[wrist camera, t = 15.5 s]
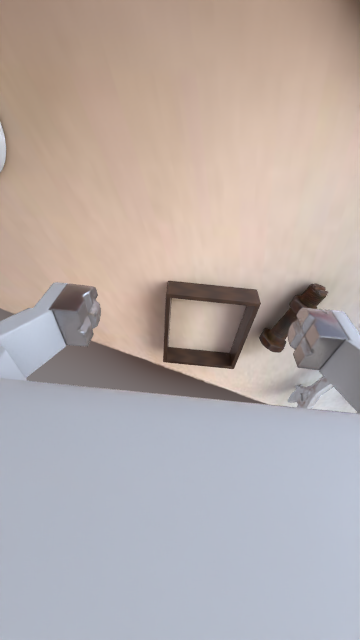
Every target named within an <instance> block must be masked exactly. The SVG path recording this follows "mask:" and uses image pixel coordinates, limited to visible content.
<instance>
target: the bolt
mask: <svg viewBox="0 0 360 640" xmlns="http://www.w3.org/2000/svg"><path fill="white" fill-rule="evenodd" d="M327 293H328V291H325V287H323V286H321V285H319V284H311V285H310V287H308V288H307V290H306V291H305V292H304V293H303V294H302V295H301V296H300V295H296V296H295V297H294V298H293V299H292V301H291V302H290V309H289V310H288V311H287V312H286V313H285V315H284V316H283V317H282V318H281V319H280V320H279V321H278V322H277V324H276V325H275V326H274V327H272V328H271V329H268V328H265V329H264V330H263V332H262V333H261V335H260V337H259V339H260V341H261V343H262V344H263V346H265V347H266V348H267V349H269V350H270V351H272V352H281V351H282V350H283V349H284V347H285V344H286V341H285V339H286V337H287V336H288V331H289V328H290V326H291V324H292V323H293V322H295V321H296V320H298V318H297V313H298V312H299V310H300V309H301V308H311V309H317V305H318V304H319V303H320V302H321V301H322V300H323V299H324V298H325V297H326V295H327Z"/></svg>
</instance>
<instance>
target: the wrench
mask: <svg viewBox="0 0 360 640" xmlns="http://www.w3.org/2000/svg"><path fill="white" fill-rule="evenodd" d="M333 387H334V386H333V385H332V384H331V383H330V382H329V381H328V380H327V379H326V378H325V377H324V376H323V377H322V378H321V379H319V380H318V381H317V382H315V383H314V384H313V385H311V386H308V387H303V385H300V386H299V387H298V386H296V391H294V392H293V393H292V394H291V396H290V397H289V399H288V402H289V403H295V402H297V403H298V406H297V408H307V409H312V408H313V406H314V404H315V403H316V402H317V400H318V399H319V398H320V396H321V395H323V394H324V393H325V392H327V391H328V390H330V389H331V388H333Z"/></svg>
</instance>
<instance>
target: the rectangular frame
mask: <svg viewBox="0 0 360 640" xmlns="http://www.w3.org/2000/svg"><path fill="white" fill-rule="evenodd" d="M172 298H178V299H188V300H197V301H207V302H217V303H227V304H237V305H247V307H246V309H245V312H244V315H243V318H242V321H241V323H240V326H239V329H238V332H237V334H236V337H235V340H234V343H233V346H232V348H231V351H230V353H221V352H211V351H201V350H191V349H181V348H171V347H168V346H169V331H170V315H171V300H172ZM260 304H261V303H260V299H259V296H258V292H257V290H254V289H244V288H234V287H224V286H214V285H204V284H194V283H185V282H175V281H168V286H167V292H166V309H165V332H164V355H163V362H168V363H178V364H188V365H198V366H208V367H218V368H228V369H234V367H235V365H236V362H237V360H238V357H239V355H240V353H241V350H242V348H243V345H244V343H245V340H246V338H247V336H248V333H249V331H250V328H251V326H252V323H253V321H254V318H255V316H256V314H257V311H258V309H259V306H260Z"/></svg>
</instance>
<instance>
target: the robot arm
mask: <svg viewBox="0 0 360 640" xmlns="http://www.w3.org/2000/svg"><path fill="white" fill-rule="evenodd" d="M5 159H6V142H5V136H4V132H3V128H2V125H1V122H0V172H1V171H2V169H3V166H4V164H5ZM97 296H98V294H97V290H96V288H95V287H93V286H85V285H77V284H67V283H59V282H56V283H53V284H52V285H51V287H50V288H49V289H48V290H47V292H46V293H45V294H44V295H43V297H42V298H41V299H40V300H39V301H38V303H37V304H36V305H35V306H34V308H28V309H26V310H23V311H21V312H19V313H17V314H15V315H13V316H10V317H8V318H6V319H4V320H2V321H0V640H360V334H359V333H358V331H357V330H356V328H355V327H354V325H353V324H352V322H351V321H350V319H349V318H348V316H347V315H346V313H344V312H343V311H338V310H321V309H311V308H301V309H300V310H299V312H298V313H297V318H298V320H296V321H295V322H293V323H292V324H291V326H290V328H289V331H288V341H289V344H290V346H291V347H292V348H294V349H295V351H294V353H293V355H294V358H295V361H296V364H297V366H298V368H306V369H314V370H320V371H319V372H320V373H321V374H322V375H323V376H324V377H325V378H326V379H327V380H328V381H329V382H330V383H331V384H332V385H333V386H334V387H335V389H336V390H337V391H338V392H339V393H340V394H341V395H342V396H343V397H344V398H345V399H346V400H347V401H348V402H349V403H350V404H351V406H352V407H353V408H354V409H355V410H356V411H357V413H348V412H337V411H327V410H317V409H307V408H297V407H287V406H276V405H266V404H255V403H245V402H235V401H225V400H215V399H204V398H194V397H184V396H175V395H165V394H155V393H145V392H135V391H124V390H114V389H105V388H94V387H84V386H74V385H64V384H54V383H44V382H34V381H28V380H27V379H26V377H27V376H29V375H30V374H31V373H32V372H34V371H35V370H36V369H38V368H39V367H40V366H41V365H43V364H44V363H45V362H47V361H48V360H49V359H50V358H52V357H53V356H54V355H56V354H57V353H58V352H59V351H61V350H62V349H63V348H65V347H66V345H73V346H74V345H75V346H87V347H88V345H89V343H90V341H91V339H92V337H93V334H94V333H93V330H92V329H93V328H95V327H97V326H98V323H99V321H100V316H101V308H100V304H99V303H98V302H97V301H96V298H97Z"/></svg>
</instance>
